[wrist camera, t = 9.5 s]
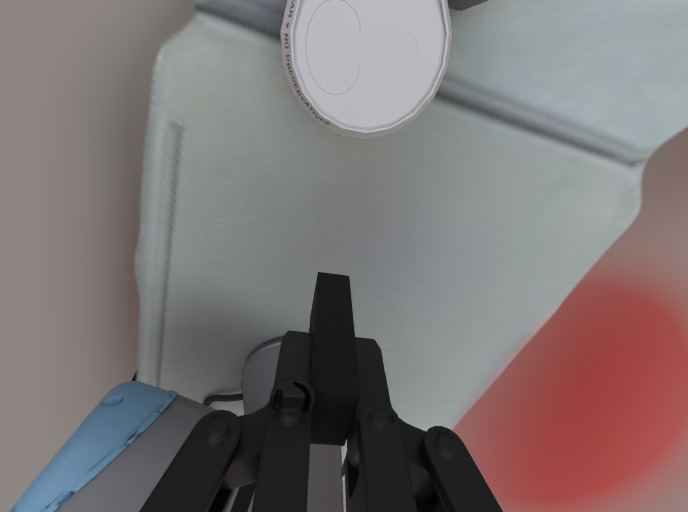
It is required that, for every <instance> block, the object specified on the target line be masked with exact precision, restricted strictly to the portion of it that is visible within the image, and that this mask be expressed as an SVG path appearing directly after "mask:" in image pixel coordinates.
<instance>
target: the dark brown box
mask: <svg viewBox="0 0 688 512" xmlns="http://www.w3.org/2000/svg"><path fill="white" fill-rule="evenodd" d="M447 1H448V7H449V8H453V9H457V10H461V11H462V10H464V9H467V8H470V7H472V6H475V5H478V4H480V3H483V2H485V1H488V0H447Z"/></svg>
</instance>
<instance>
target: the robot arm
mask: <svg viewBox="0 0 688 512" xmlns="http://www.w3.org/2000/svg"><path fill="white" fill-rule="evenodd" d="M241 388H242V394H233V395H212V396H210V397H208V398H207V399H205V401H204V403H203V404H201V403H198V402H196V401H193V400H191V399H188V398H186V397H183V396H181V395H178V393H177V392H175V391H166V390H163V389H160V388H157V387H154V386H151V385H148V384H145V383H142V382H138V381H137V371H136V372H135V374H134V376H133V379H132V381H129V382H125V383H122V384H120V385H117V386H116V387H114V388H113V389H112V390H110V391H109V392H108V394H107V395H106V396H105V397H104V398H103V399H102V400H101V401H100V403H99V404H98V405H97V406H96V407H95V408H94V410H93V411H92V412H91V413H90V414H89V415H88V417H87V418H86V419H85V420H84V421H83V423H82V424H81V425H80V426H79V427H78V429H77V430H76V431H75V432H74V433H73V434H72V436H71V437H70V438H69V439H68V440H67V442H66V443H65V444H64V445H63V446H62V447H61V449H60V450H59V451H58V452H57V454H56V455H55V456H54V457H53V458H52V460H51V461H50V462H49V463H48V464H47V465H46V467H45V468H44V469H43V470H42V471H41V473H40V474H39V475H38V476H37V478H36V479H35V480H34V481H33V482H32V484H31V485H30V486H29V487H28V488H27V490H26V491H25V492H24V493H23V495H22V496H21V497H20V498H19V500H18V501H17V502H16V503H15V504H14V506H13V507H12V508H11V510H10V511H9V512H344V509H343V482H342V476H344V474H345V489H346V490H345V491H346V512H503V511H502V509H501V508H500V506H499V504H498V503H497V501H496V499H495V497H494V495H493V494H492V492H491V490H490V488H489V487H488V485H487V483H486V482H485V480H484V478H483V476H482V475H481V473H480V471H479V469H478V468H477V466H476V464H475V462H474V461H473V459H472V457H471V456H470V454H469V452H468V450H467V449H466V447H465V445H464V443H463V442H462V440H461V439H460V438H459V437H458V435H457V434H455V433H454V432H453V431H451V430H450V429H448V428H445V427H443V426H434V427H432V428H429V429H428V431H427V432H426V431H423V430H421V429H418V428H416V427H413V426H411V425H409V424H407V423H405V422H404V421H403V420H401V419H400V418H399V417H398V415H397V414H396V412H395V411H394V410H393V409H392V406H391V403H390V397H389V392H388V386H387V381H386V375H385V371H384V364H383V359H382V353H381V349H380V347H379V346H378V344H377V343H376V341H375V340H374V339H367V338H358V337H355V332H354V322H353V311H352V301H351V290H350V279H349V276H345V275H338V274H330V273H323V272H318V275H317V281H316V287H315V293H314V298H313V304H312V310H311V316H310V328H309V333H306V332H297V331H288V332H287V333H286V334H285V336H284V337H280V338H276V339H273V340H270V341H267V342H265V343H263V344H262V345H260V346H258V347H257V348H256V349H255V350H254V351H253V352H252V353H251V354H250V355H249V356H248V358H247V360H246V362H245V365H244V369H243V372H242V379H241ZM237 400H243V401H244V415H243V416H239V417H237V415H236V414H234V413H232V412H230V411H226V410H216V409H214V408H211V407H209V404H210V403H211V402H214V401H237ZM346 439H347V454H346V457H345V460H344V463H343V466H342V455H341V446H344V445H345V442H346Z"/></svg>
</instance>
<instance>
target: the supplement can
mask: <svg viewBox="0 0 688 512" xmlns="http://www.w3.org/2000/svg"><path fill="white" fill-rule="evenodd" d="M280 34H281V47H282V61H283V68H284V71H285V74H286V76H287V79H288V81H289V84H290V86H291V89H292V91H293V94H294V97H295V98H296V100H297V101H298V102H299V103H300V104H301V106H302V107H303V108H304V109H305V111H306V112H307V113H308V114H309V115H310V117H311V118H312V119H313V120H314V121H315V122H317V123H319V124H320V125H322V126H323V127H325V128H327V129H328V130H330V131H332V132H333V133H335V134H337V135H340V136H346V137H351V138H357V139H362V140H365V139H370V138H376V137H381V136H387V135H390V134H392V133H394V132H395V131H397V130H399V129H401V128H402V127H404V126H406V125H408V124H409V123H411V122H413V121H414V120H415V119H416V118H417V117H418V115H419V114H420V113H421V112H422V111H423V110H424V109H425V108H426V106H427V105H428V104H429V103H430V102H431V101H432V100H433V99H434V97H435V94H436V92H437V90H438V88H439V86H440V84H441V81H442V79H443V77H444V75H445V73H446V71H447V68H448V61H449V54H450V48H451V41H452V27H451V21H450V14H449V8H448V1H447V0H288V1H287V5H286V9H285V14H284V18H283V22H282V27H281V31H280Z"/></svg>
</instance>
